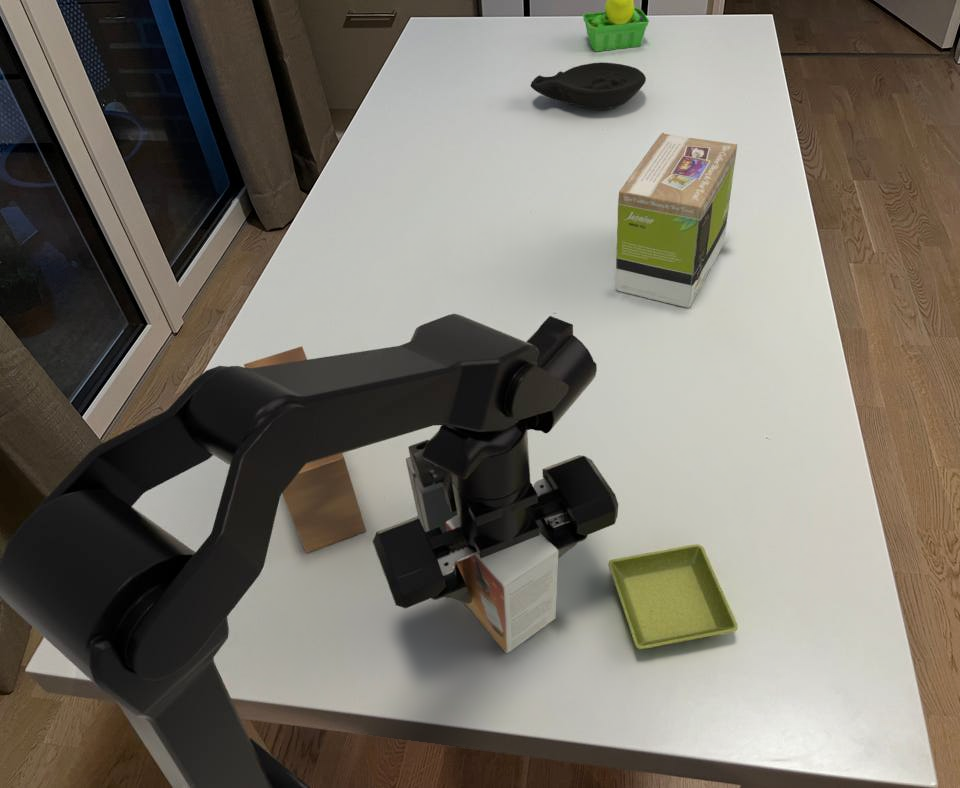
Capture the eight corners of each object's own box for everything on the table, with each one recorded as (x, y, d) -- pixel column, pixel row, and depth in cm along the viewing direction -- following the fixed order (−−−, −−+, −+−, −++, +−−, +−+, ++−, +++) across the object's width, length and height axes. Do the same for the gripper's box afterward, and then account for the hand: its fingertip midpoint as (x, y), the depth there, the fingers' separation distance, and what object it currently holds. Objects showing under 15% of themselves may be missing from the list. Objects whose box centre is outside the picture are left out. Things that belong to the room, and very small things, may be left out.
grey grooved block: (435, 560, 74) (421, 494, 67) (419, 524, 77) (405, 458, 70) (513, 530, 76) (508, 463, 69) (495, 496, 79) (488, 428, 72)
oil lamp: (532, 86, 145) (531, 58, 141) (640, 81, 143) (642, 53, 139) (530, 124, 134) (529, 96, 131) (647, 119, 132) (649, 90, 129)
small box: (452, 591, 72) (442, 520, 64) (501, 558, 74) (497, 486, 66) (506, 656, 67) (502, 587, 59) (557, 619, 69) (559, 549, 62)
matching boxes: (306, 553, 76) (276, 481, 68) (272, 437, 87) (243, 364, 79) (366, 531, 77) (344, 457, 69) (325, 420, 88) (302, 345, 81)
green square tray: (699, 555, 72) (701, 542, 71) (736, 642, 66) (740, 629, 65) (606, 572, 72) (607, 560, 70) (635, 662, 66) (636, 649, 64)
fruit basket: (637, 33, 158) (641, -28, 150) (650, 50, 152) (654, -13, 144) (581, 40, 158) (582, -21, 150) (591, 58, 151) (593, -5, 143)
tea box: (652, 229, 109) (661, 128, 99) (725, 245, 106) (742, 142, 95) (612, 292, 100) (617, 188, 90) (689, 311, 97) (704, 205, 86)
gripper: (557, 359, 64) (559, 479, 75) (336, 436, 60) (372, 551, 71) (626, 453, 57) (617, 571, 68) (378, 548, 53) (412, 657, 64)
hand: (503, 583), depth 68 cm, fingers closed on small box, 6 cm apart
